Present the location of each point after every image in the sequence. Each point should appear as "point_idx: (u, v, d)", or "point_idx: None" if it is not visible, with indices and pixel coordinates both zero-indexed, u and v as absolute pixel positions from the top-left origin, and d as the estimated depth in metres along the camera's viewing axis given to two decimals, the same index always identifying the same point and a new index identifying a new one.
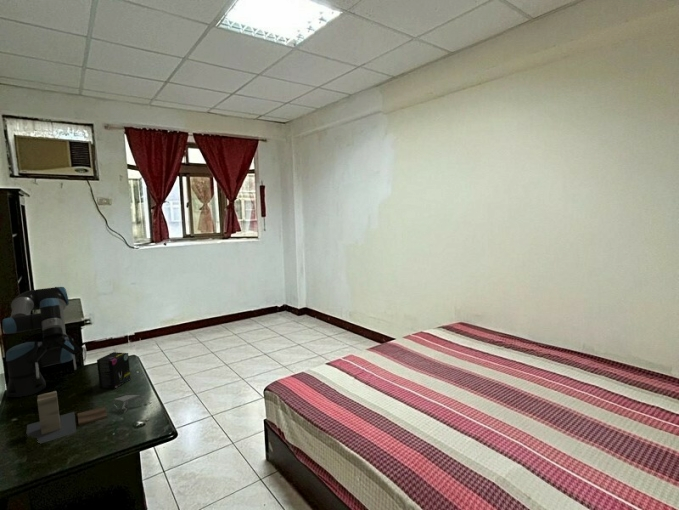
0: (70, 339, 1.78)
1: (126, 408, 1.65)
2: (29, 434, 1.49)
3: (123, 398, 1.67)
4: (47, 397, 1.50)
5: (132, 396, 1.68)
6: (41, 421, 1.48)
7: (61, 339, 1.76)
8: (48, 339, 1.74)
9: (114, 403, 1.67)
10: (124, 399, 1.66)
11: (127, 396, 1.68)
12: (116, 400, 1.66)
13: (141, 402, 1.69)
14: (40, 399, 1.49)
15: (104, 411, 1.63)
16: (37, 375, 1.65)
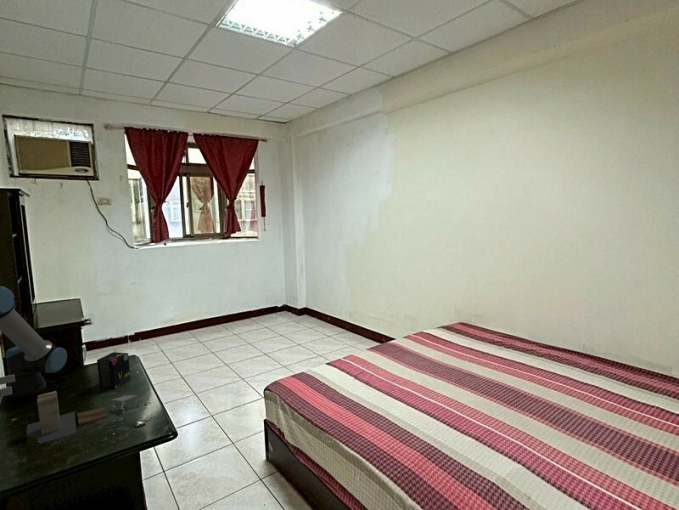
0: None
1: None
2: (29, 434, 1.49)
3: (122, 398, 1.66)
4: (47, 397, 1.50)
5: (130, 396, 1.68)
6: (41, 421, 1.48)
7: None
8: None
9: (112, 403, 1.67)
10: (122, 399, 1.65)
11: (125, 396, 1.68)
12: (114, 400, 1.66)
13: (140, 402, 1.69)
14: (40, 399, 1.49)
15: (104, 411, 1.63)
16: None
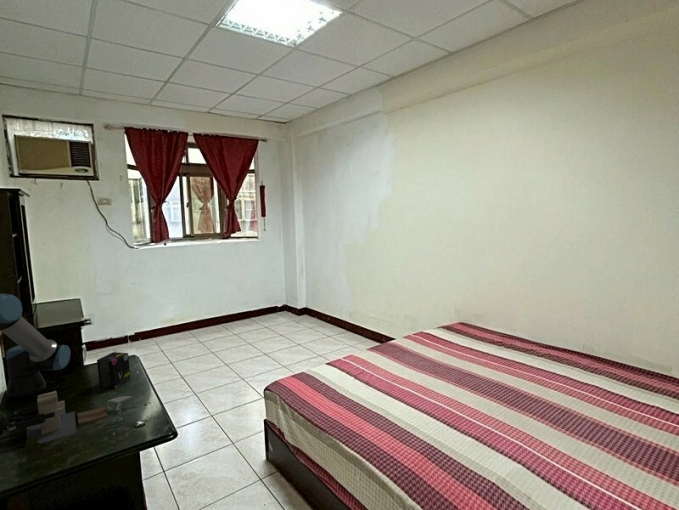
0: None
1: None
2: (29, 434, 1.49)
3: (117, 399, 1.66)
4: (47, 397, 1.50)
5: (126, 397, 1.67)
6: None
7: None
8: None
9: (107, 405, 1.66)
10: (118, 400, 1.65)
11: (121, 397, 1.67)
12: None
13: (135, 403, 1.69)
14: (40, 399, 1.49)
15: (104, 411, 1.63)
16: None
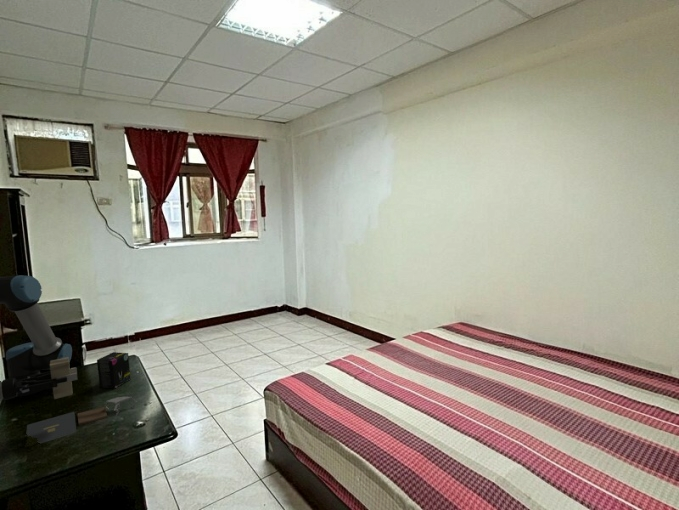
0: None
1: (118, 410, 1.64)
2: (29, 434, 1.49)
3: (115, 400, 1.65)
4: (59, 362, 1.51)
5: (124, 398, 1.67)
6: None
7: None
8: None
9: (106, 405, 1.66)
10: (116, 401, 1.64)
11: (119, 398, 1.67)
12: (108, 402, 1.65)
13: (133, 404, 1.68)
14: (52, 364, 1.49)
15: (104, 411, 1.63)
16: None
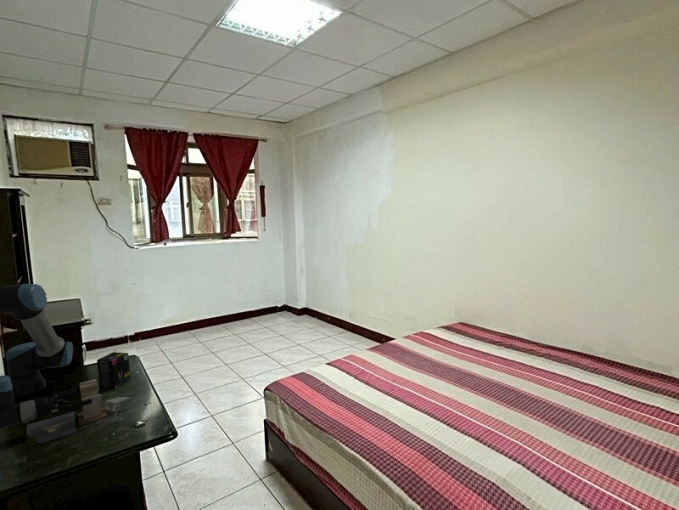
0: None
1: None
2: (29, 434, 1.49)
3: (115, 400, 1.65)
4: (89, 384, 1.58)
5: (123, 398, 1.66)
6: (83, 407, 1.57)
7: None
8: None
9: None
10: (115, 401, 1.64)
11: (118, 398, 1.67)
12: (107, 402, 1.65)
13: None
14: (82, 386, 1.57)
15: (104, 411, 1.63)
16: None
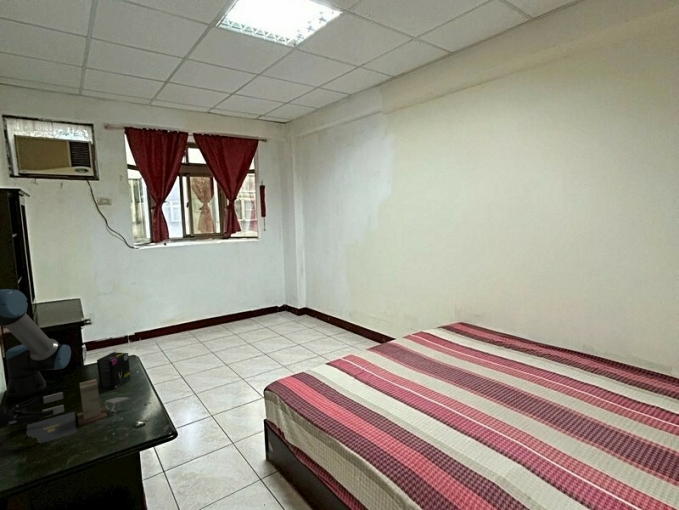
0: None
1: (116, 411, 1.63)
2: (29, 434, 1.49)
3: (114, 400, 1.65)
4: (89, 384, 1.58)
5: (122, 398, 1.66)
6: (83, 407, 1.57)
7: None
8: None
9: (105, 405, 1.66)
10: (114, 401, 1.64)
11: (118, 398, 1.67)
12: None
13: (132, 405, 1.67)
14: (82, 386, 1.57)
15: (104, 411, 1.63)
16: None
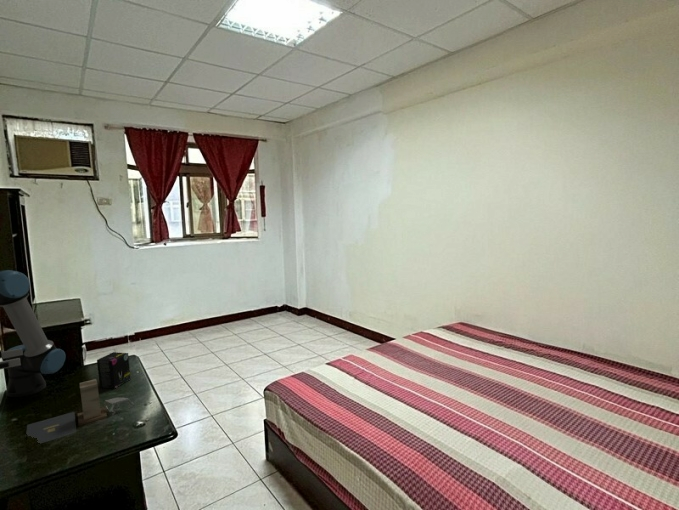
0: None
1: (114, 411, 1.63)
2: (29, 434, 1.49)
3: (113, 400, 1.65)
4: (89, 384, 1.58)
5: (122, 399, 1.66)
6: (83, 407, 1.57)
7: None
8: None
9: (105, 404, 1.66)
10: (113, 402, 1.64)
11: (118, 398, 1.66)
12: (106, 402, 1.65)
13: (130, 406, 1.66)
14: (82, 386, 1.57)
15: (104, 411, 1.63)
16: None
